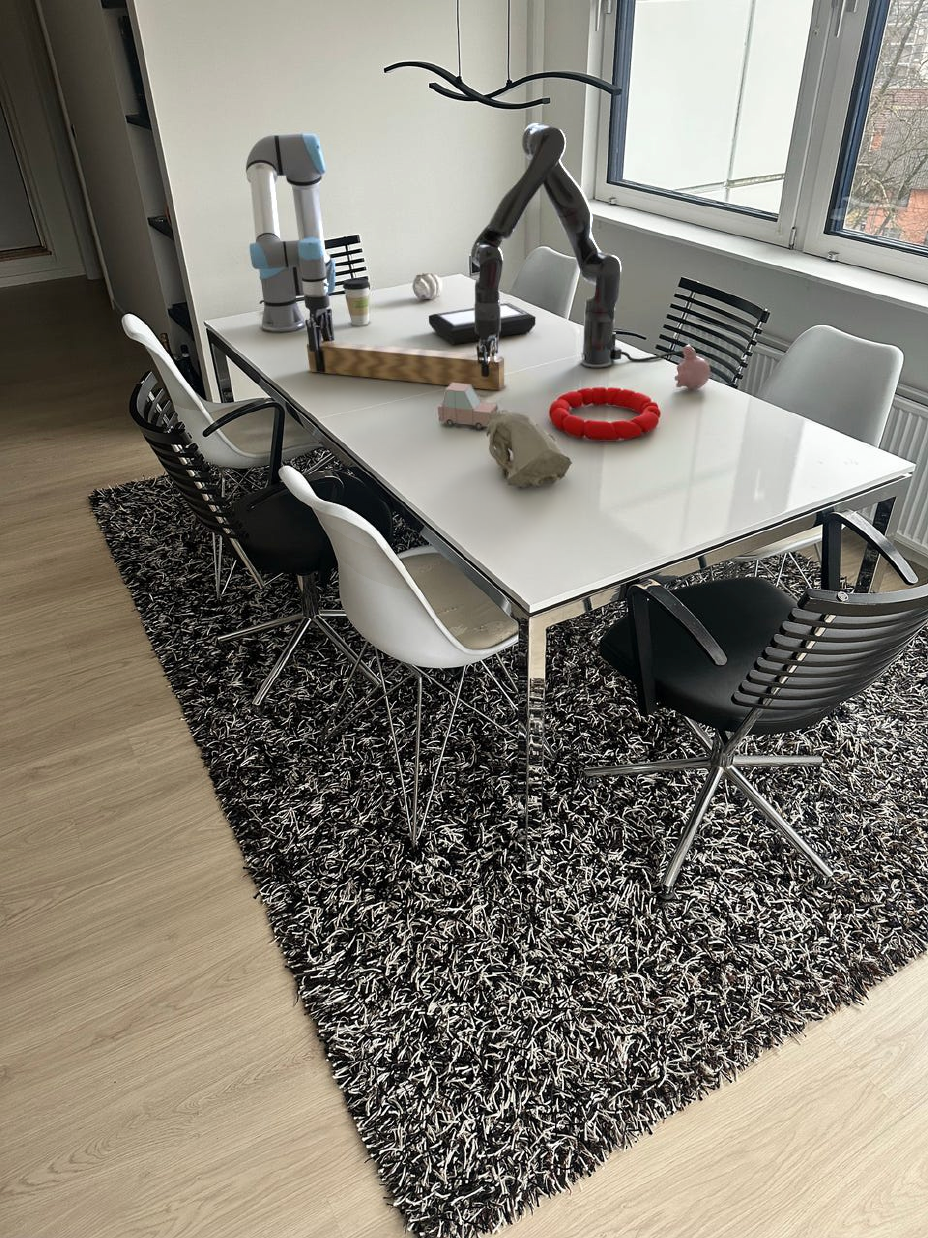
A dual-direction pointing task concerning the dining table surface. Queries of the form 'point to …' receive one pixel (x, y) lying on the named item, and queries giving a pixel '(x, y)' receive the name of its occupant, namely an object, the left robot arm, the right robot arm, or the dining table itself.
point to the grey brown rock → (525, 450)
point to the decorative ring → (604, 428)
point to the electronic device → (462, 323)
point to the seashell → (427, 286)
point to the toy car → (465, 406)
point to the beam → (408, 364)
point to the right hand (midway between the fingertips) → (488, 372)
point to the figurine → (692, 370)
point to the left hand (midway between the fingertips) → (325, 368)
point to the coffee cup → (357, 300)
